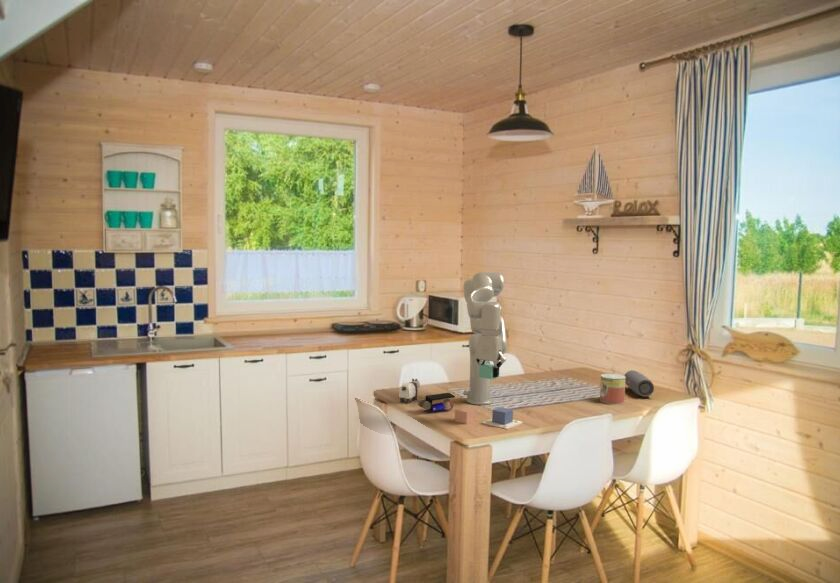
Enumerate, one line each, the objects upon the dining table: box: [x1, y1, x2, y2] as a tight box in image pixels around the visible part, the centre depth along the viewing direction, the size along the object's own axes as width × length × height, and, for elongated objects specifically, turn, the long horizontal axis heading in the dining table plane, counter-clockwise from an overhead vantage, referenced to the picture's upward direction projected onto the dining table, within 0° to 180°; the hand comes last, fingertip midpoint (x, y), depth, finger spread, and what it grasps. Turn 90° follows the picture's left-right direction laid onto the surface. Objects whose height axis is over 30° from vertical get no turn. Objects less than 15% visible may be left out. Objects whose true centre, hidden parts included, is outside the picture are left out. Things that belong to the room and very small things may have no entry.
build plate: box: [481, 407, 524, 430], centre depth 267 cm, size 12×12×6 cm
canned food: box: [599, 373, 626, 405], centre depth 307 cm, size 11×11×12 cm
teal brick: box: [479, 363, 499, 380], centre depth 273 cm, size 6×6×5 cm
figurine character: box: [417, 392, 456, 414], centre depth 284 cm, size 7×8×15 cm
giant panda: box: [398, 378, 421, 404], centre depth 303 cm, size 15×6×10 cm, turn 152°
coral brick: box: [454, 406, 477, 425], centre depth 270 cm, size 6×6×5 cm
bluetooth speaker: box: [624, 370, 655, 397], centre depth 324 cm, size 23×9×10 cm, turn 178°
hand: (489, 375), depth 273 cm, fingers closed on teal brick, 6 cm apart
